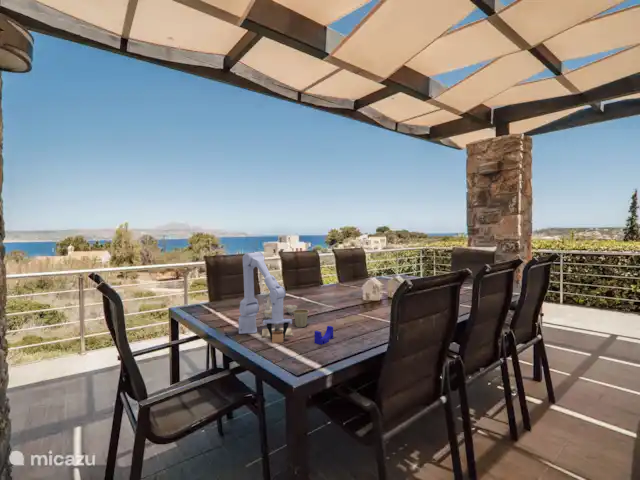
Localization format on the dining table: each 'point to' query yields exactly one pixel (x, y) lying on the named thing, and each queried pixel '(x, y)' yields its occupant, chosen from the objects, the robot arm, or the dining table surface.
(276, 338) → the collar
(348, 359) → the dining table surface
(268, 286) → the robot arm
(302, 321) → the flower pot
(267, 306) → the chinaware
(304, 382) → the dining table surface
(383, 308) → the dining table surface
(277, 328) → the post plate
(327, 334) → the cable clip
